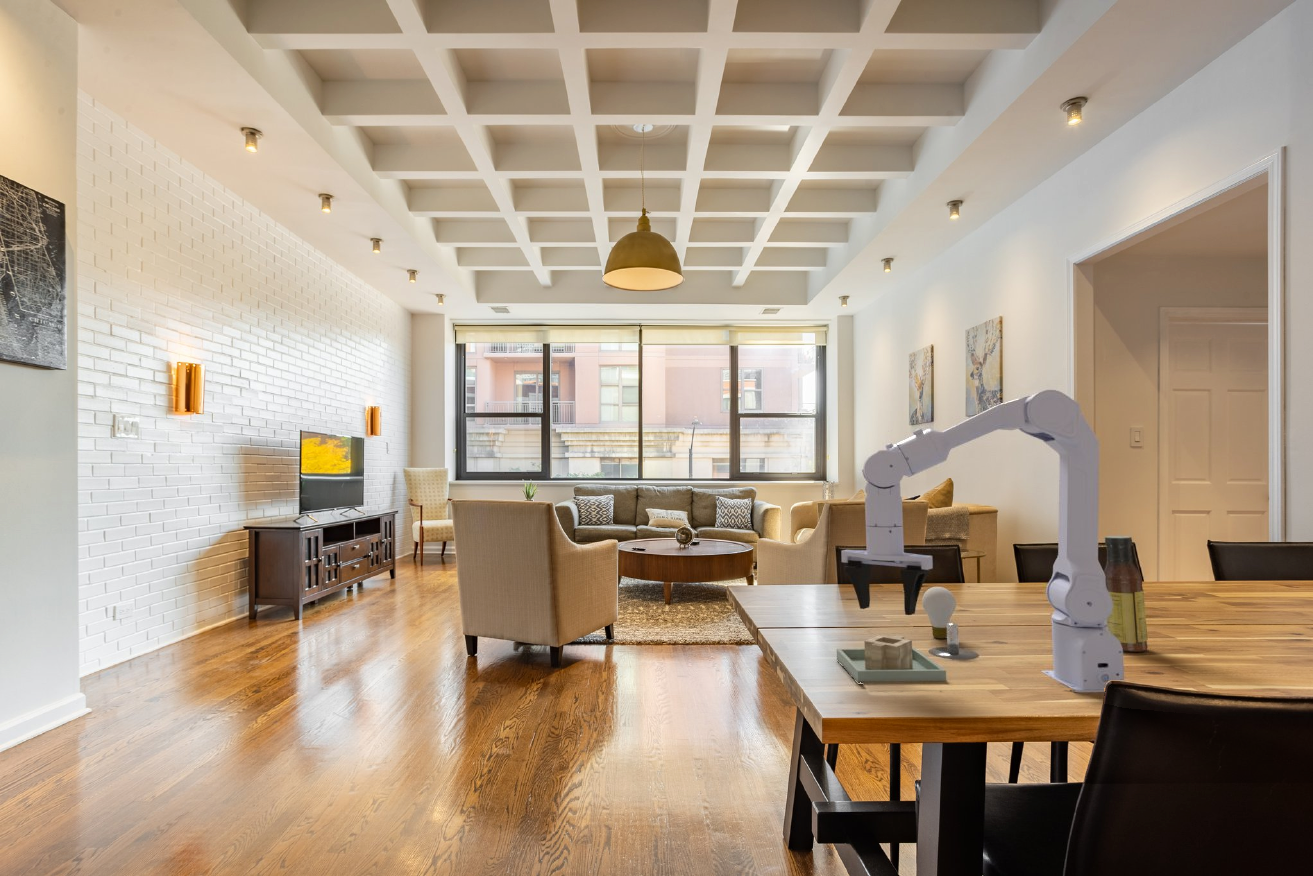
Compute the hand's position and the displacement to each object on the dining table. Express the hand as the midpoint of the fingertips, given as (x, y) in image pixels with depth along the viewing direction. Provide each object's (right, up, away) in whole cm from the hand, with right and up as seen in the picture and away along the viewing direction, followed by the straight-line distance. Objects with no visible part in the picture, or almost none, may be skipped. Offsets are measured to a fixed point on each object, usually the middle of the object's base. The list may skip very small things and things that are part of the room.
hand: (886, 611), depth 111 cm
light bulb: (+16, -11, +19) cm, 27 cm away
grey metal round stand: (+14, -10, +8) cm, 19 cm away
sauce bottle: (+46, -10, +12) cm, 49 cm away
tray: (0, -10, 0) cm, 10 cm away
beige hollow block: (0, -9, 0) cm, 9 cm away
